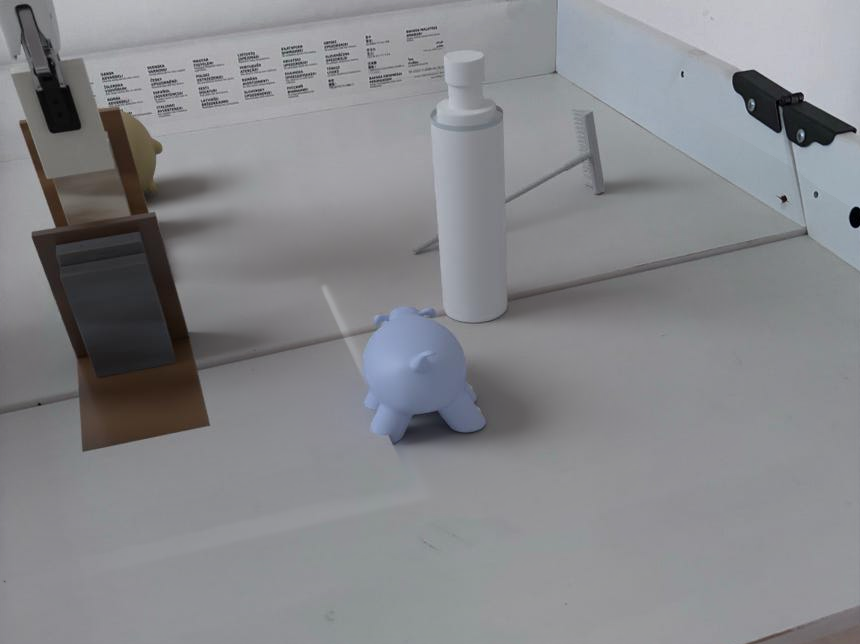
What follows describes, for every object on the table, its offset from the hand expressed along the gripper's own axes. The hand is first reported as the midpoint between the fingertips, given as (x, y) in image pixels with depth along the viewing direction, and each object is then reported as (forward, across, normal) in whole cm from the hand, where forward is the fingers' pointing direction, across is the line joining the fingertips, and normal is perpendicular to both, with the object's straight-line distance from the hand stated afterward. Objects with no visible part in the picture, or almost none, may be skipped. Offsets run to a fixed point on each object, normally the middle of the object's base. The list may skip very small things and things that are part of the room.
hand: (65, 124), depth 100 cm
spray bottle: (+16, +25, +36) cm, 46 cm away
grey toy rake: (+16, +5, +47) cm, 50 cm away
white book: (+5, 0, 0) cm, 5 cm away
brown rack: (+15, +30, +1) cm, 33 cm away
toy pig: (+16, -21, +3) cm, 27 cm away
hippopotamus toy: (+16, +41, +25) cm, 51 cm away
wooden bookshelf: (+15, -3, 0) cm, 16 cm away
